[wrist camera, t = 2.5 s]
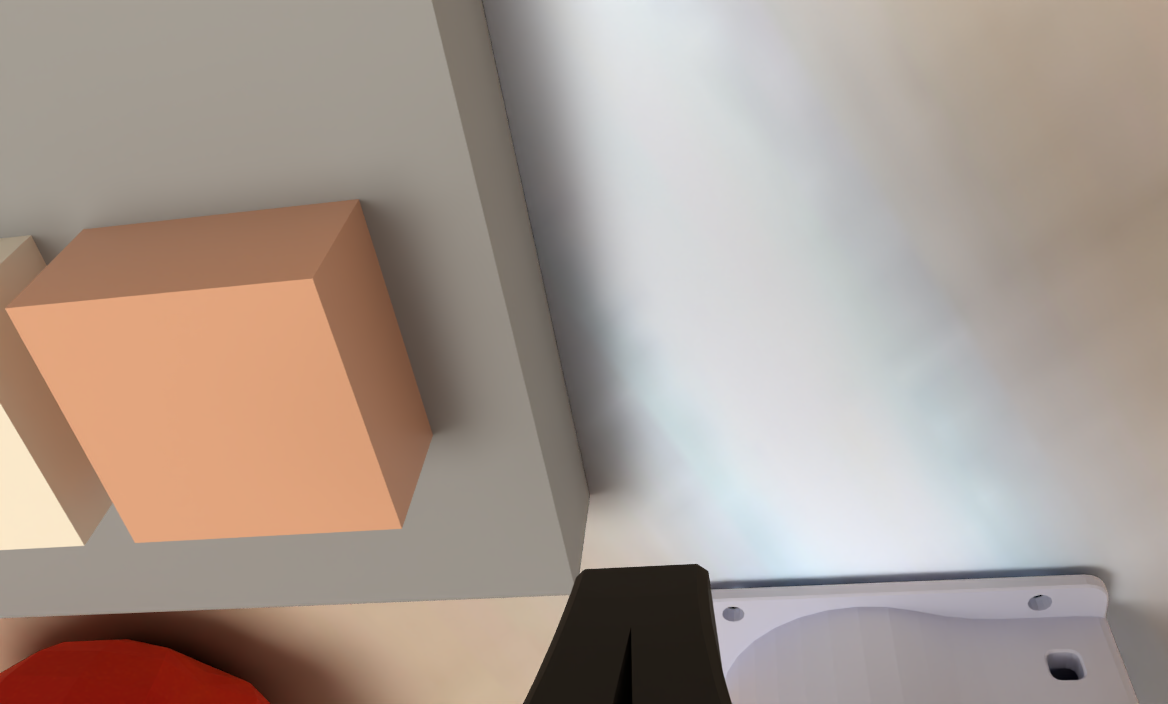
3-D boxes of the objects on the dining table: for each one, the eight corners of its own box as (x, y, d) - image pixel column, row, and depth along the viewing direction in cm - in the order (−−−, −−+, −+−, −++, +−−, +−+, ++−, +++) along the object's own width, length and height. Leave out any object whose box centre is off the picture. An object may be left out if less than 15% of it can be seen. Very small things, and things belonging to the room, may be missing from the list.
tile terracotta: (358, 198, 18) (312, 277, 15) (432, 435, 20) (401, 528, 18) (82, 229, 18) (4, 308, 16) (190, 451, 21) (134, 543, 19)
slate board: (448, -153, 17) (404, -111, 15) (589, 496, 25) (576, 594, 22) (-290, -29, 20) (-433, 25, 17) (49, 527, 27) (-16, 618, 25)
